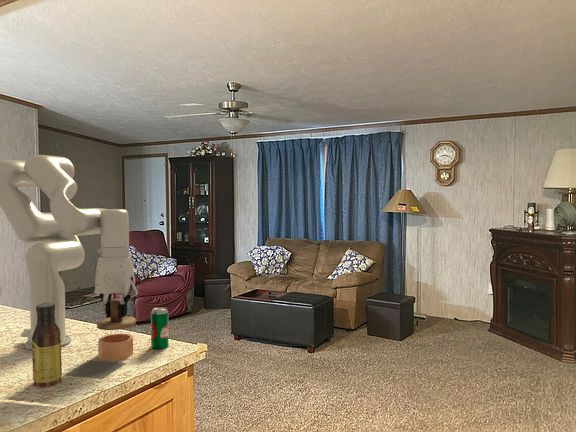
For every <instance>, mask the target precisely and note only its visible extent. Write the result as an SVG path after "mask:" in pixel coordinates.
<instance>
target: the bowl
mask: <svg viewBox="0 0 576 432" xmlns="http://www.w3.org/2000/svg"><path fill="white" fill-rule="evenodd" d="M97 345H98V349H97V350H98V354H97V355H98V358H99V359H100V360H101V361H120V360H124V359H127V358H130V357H132V356H133V354H134V335H132V334H129V333H111V334H107V335H103V336H101V337H99V338H98V342H97Z"/></svg>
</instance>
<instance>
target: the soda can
mask: <svg viewBox="0 0 576 432" xmlns="http://www.w3.org/2000/svg"><path fill="white" fill-rule="evenodd" d="M169 345H170V344H169V311H168V307H155V308H152V309H151V313H150V348H151V349H152V350H156V351H159V350H165V349H168V347H169Z"/></svg>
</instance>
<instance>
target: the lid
mask: <svg viewBox="0 0 576 432" xmlns="http://www.w3.org/2000/svg"><path fill="white" fill-rule="evenodd" d="M119 304H120V298H112V300H110V317H109V318H102V319H99V320H97V321H96V328H97V329H98V330H100V331H102V330H103V331H118V330H124V329H125V330H126V329H129V328H132V327H134V326H136V324H137V321H136V320H137V319H136V318H135V317H133V316H128V315H126V316H125V317H123V318H119V317H118V305H119Z"/></svg>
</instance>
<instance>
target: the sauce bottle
mask: <svg viewBox="0 0 576 432" xmlns="http://www.w3.org/2000/svg"><path fill="white" fill-rule="evenodd" d="M54 310H55V304H54V303H41V304H38V305H37V306H36V311H37V325H36V328H35V331H34V333H33V336H32V350H31V351H32V353H31V354H32V359H31V360H32V381H33V384H34V387H35V388H36V387H37V388H49V387H53V386H56V385H58V384H60V383H61V382H62V375H63V370H62V369H63V367H62V366H63V365H62V364H63V363H62V347H61V340H60V329H59V327H58V326H57V325H56V323H55V322H54V321H55V318H54Z"/></svg>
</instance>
